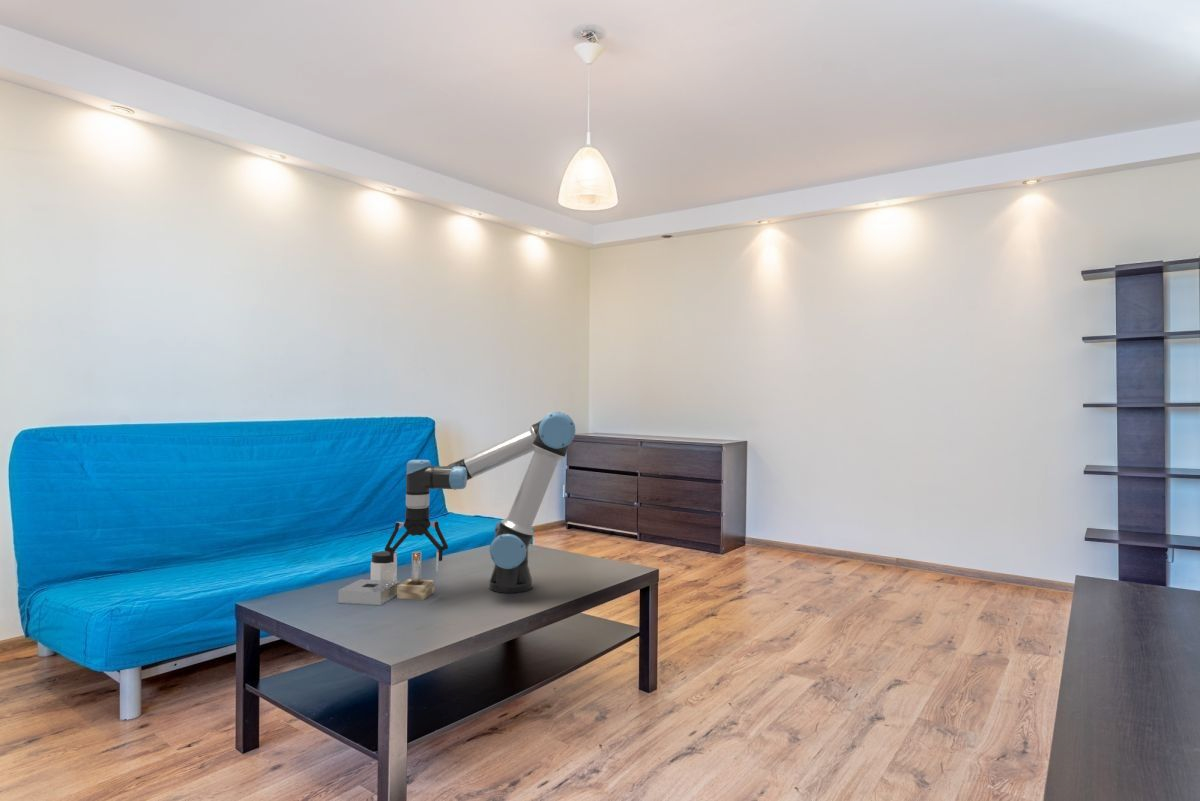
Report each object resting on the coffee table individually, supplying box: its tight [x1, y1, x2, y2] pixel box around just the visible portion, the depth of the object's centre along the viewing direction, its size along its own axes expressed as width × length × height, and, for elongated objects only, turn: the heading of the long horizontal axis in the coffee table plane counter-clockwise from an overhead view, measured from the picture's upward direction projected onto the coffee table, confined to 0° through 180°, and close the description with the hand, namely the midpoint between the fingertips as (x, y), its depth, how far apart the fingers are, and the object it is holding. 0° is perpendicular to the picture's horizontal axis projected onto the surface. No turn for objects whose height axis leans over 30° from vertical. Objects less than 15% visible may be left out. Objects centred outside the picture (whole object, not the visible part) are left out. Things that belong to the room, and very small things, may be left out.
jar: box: [370, 550, 398, 581], centre depth 233 cm, size 9×8×12 cm
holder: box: [396, 578, 435, 601], centre depth 221 cm, size 9×9×5 cm
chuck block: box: [337, 578, 401, 606], centre depth 217 cm, size 14×14×5 cm
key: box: [411, 550, 422, 585], centre depth 221 cm, size 7×3×14 cm, turn 12°
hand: (416, 571), depth 221 cm, fingers open, 13 cm apart
